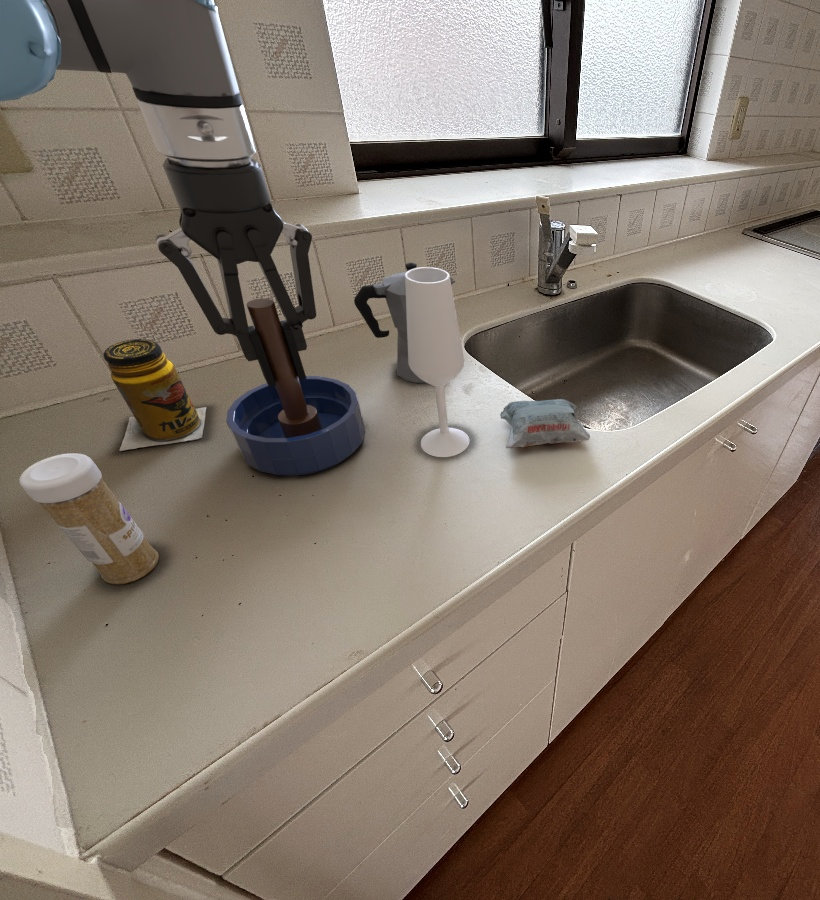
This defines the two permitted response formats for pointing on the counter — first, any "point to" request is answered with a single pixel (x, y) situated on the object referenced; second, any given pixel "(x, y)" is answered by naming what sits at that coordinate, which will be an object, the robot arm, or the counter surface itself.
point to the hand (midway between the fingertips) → (285, 377)
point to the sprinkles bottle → (90, 516)
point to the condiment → (152, 396)
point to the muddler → (283, 371)
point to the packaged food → (542, 423)
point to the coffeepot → (396, 302)
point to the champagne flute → (435, 349)
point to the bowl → (302, 454)
